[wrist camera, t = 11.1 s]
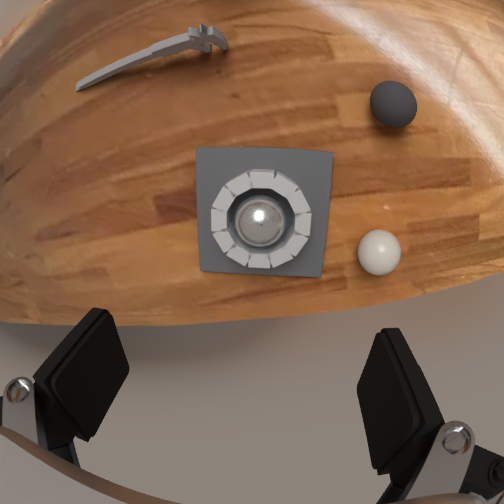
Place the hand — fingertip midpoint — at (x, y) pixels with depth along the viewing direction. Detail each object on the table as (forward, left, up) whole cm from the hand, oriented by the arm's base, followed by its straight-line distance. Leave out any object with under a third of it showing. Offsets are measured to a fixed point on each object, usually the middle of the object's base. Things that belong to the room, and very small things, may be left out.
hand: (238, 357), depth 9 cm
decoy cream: (-13, +4, -20) cm, 24 cm away
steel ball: (0, +1, -19) cm, 19 cm away
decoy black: (-13, -12, -20) cm, 27 cm away
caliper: (+14, -17, -23) cm, 32 cm away
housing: (0, +1, -22) cm, 22 cm away
